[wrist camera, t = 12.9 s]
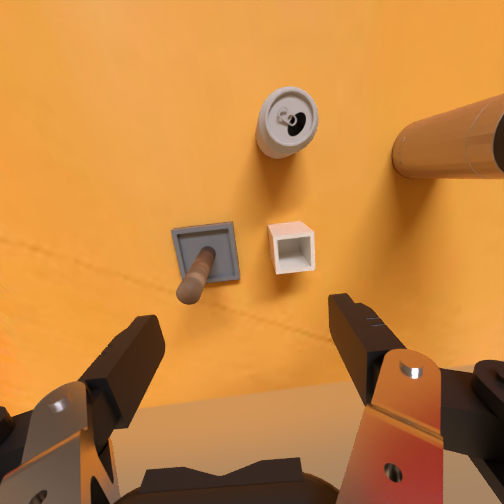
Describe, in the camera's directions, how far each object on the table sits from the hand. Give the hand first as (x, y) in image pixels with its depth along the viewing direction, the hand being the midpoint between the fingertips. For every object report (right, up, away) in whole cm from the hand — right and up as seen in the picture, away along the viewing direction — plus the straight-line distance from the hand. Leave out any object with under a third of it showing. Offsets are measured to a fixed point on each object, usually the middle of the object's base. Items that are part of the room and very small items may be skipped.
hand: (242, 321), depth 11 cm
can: (+5, +23, +28) cm, 36 cm away
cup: (+7, +6, +33) cm, 35 cm away
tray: (-8, +3, +34) cm, 35 cm away
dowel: (-8, +3, +33) cm, 34 cm away
